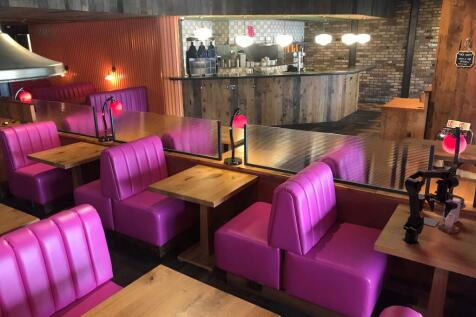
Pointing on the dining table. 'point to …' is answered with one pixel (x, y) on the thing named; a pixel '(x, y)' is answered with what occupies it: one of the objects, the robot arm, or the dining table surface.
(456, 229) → the walnut pocket
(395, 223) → the dining table surface
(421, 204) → the coffee mug
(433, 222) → the grey mat
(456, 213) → the skincare box
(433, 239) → the dining table surface
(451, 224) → the cream shaker
